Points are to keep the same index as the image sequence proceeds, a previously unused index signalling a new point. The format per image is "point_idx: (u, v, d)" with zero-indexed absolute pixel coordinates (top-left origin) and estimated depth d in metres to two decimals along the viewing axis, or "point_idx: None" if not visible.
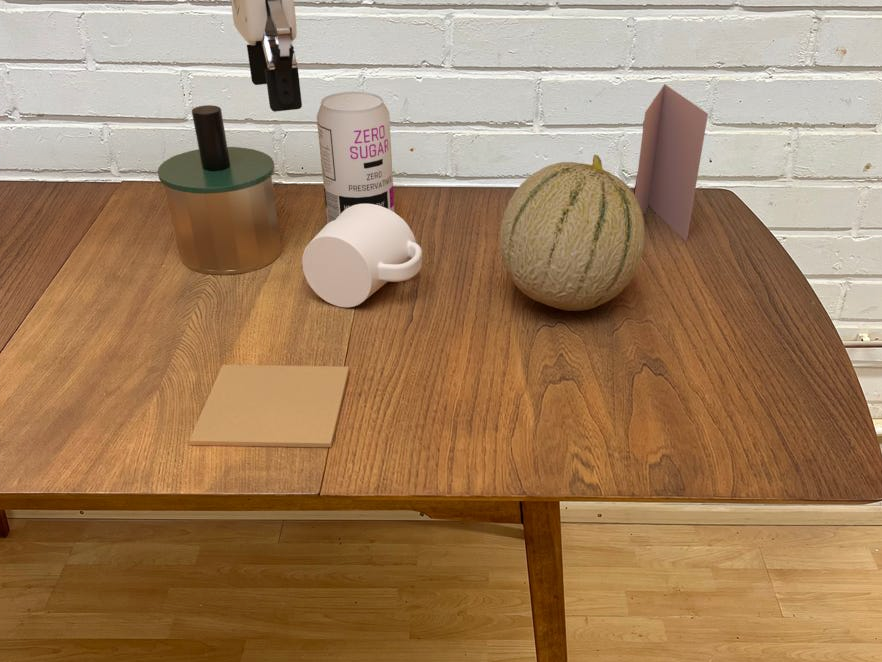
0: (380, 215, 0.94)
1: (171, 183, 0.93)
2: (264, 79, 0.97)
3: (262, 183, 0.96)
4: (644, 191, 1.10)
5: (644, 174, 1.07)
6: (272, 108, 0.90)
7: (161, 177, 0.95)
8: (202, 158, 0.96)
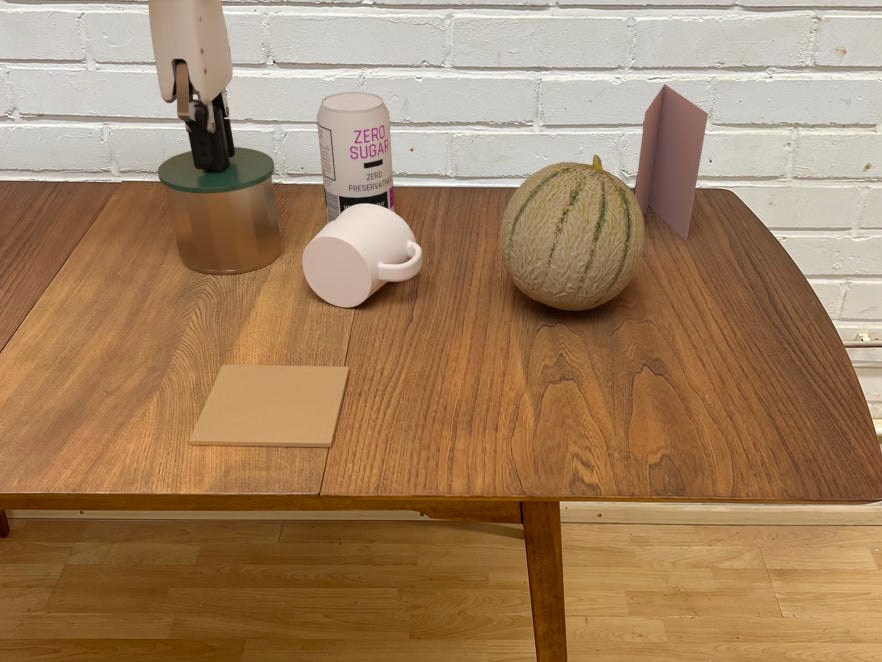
0: (380, 215, 0.94)
1: (171, 183, 0.93)
2: None
3: (262, 183, 0.96)
4: (644, 191, 1.10)
5: (644, 174, 1.07)
6: (195, 166, 0.95)
7: (161, 177, 0.95)
8: None
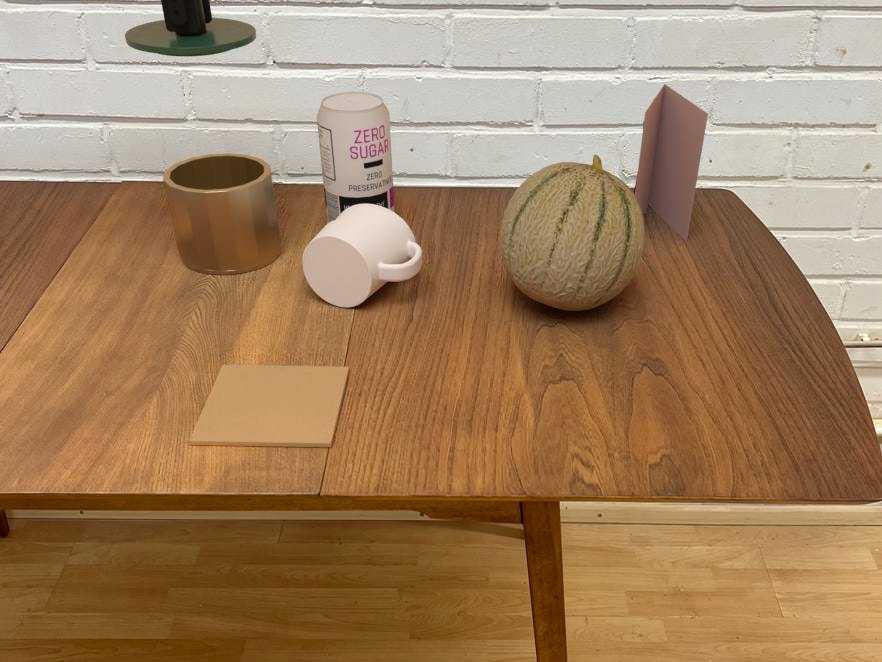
0: (380, 215, 0.94)
1: (139, 44, 0.83)
2: None
3: (262, 183, 0.96)
4: (644, 191, 1.10)
5: (644, 174, 1.07)
6: (167, 27, 0.85)
7: (128, 39, 0.84)
8: None
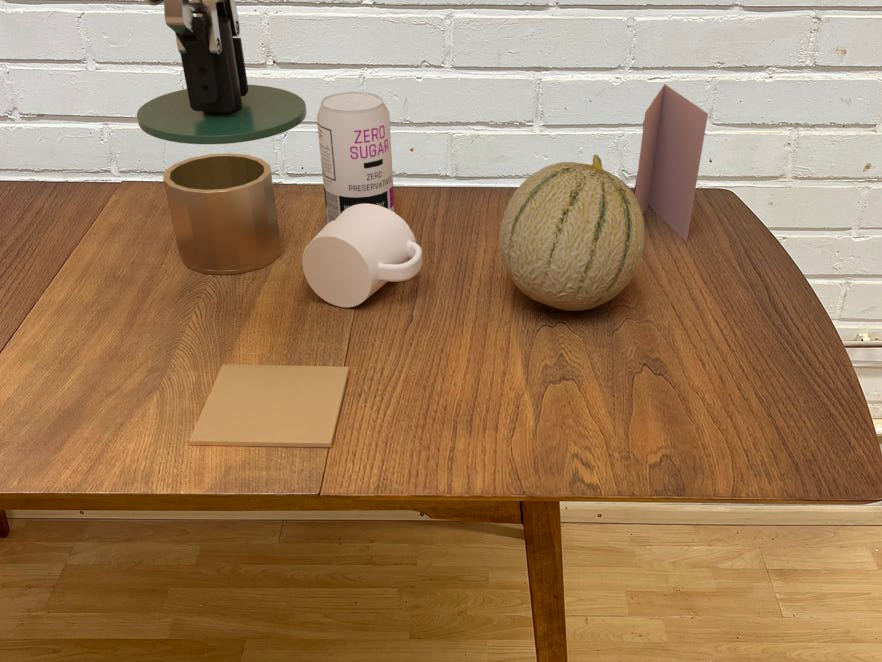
0: (380, 215, 0.94)
1: (157, 130, 0.63)
2: None
3: (262, 183, 0.96)
4: (644, 191, 1.10)
5: (644, 174, 1.07)
6: (192, 106, 0.65)
7: (142, 122, 0.64)
8: None
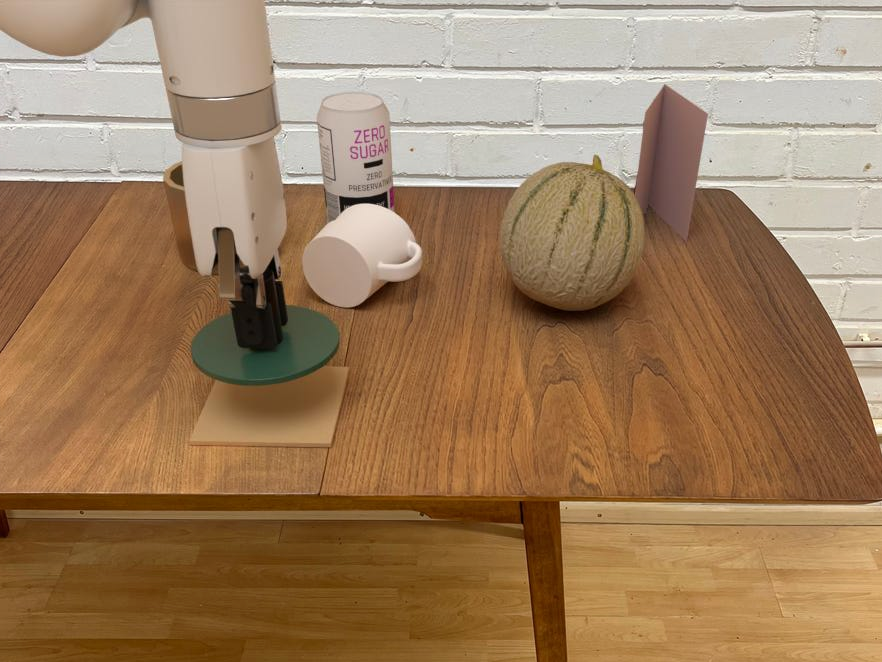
0: (380, 215, 0.94)
1: (209, 371, 0.72)
2: None
3: None
4: (644, 191, 1.10)
5: (644, 174, 1.07)
6: (239, 344, 0.73)
7: (196, 360, 0.73)
8: None
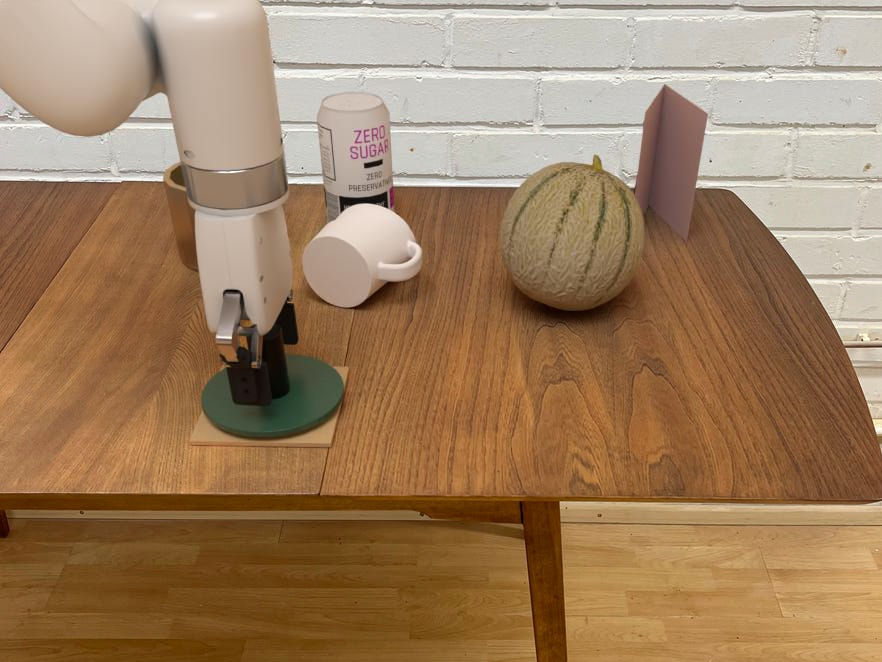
0: (380, 215, 0.94)
1: (219, 422, 0.75)
2: None
3: None
4: (644, 191, 1.10)
5: (644, 174, 1.07)
6: (234, 401, 0.73)
7: (206, 411, 0.76)
8: None
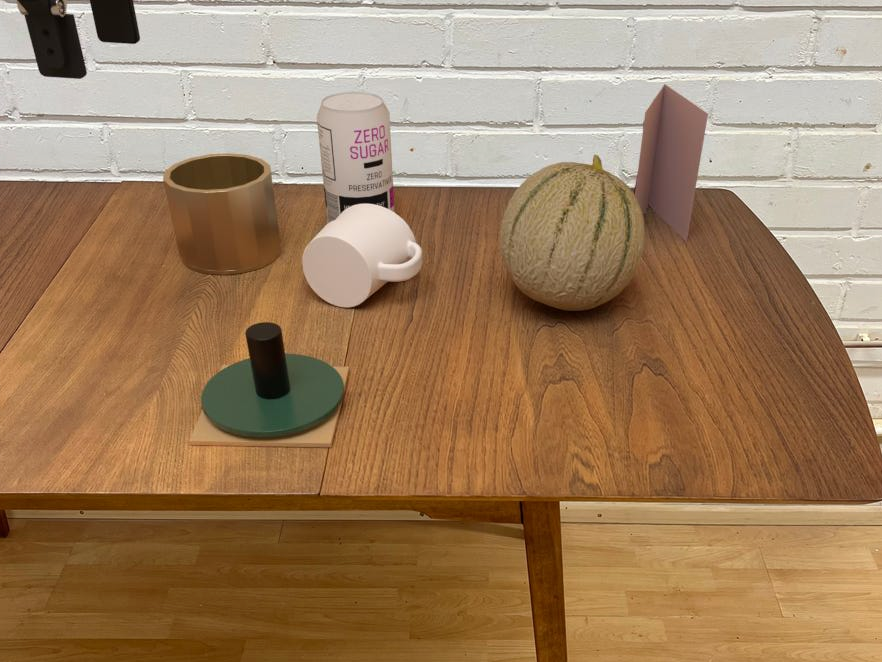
0: (380, 215, 0.94)
1: (219, 422, 0.75)
2: (112, 35, 0.69)
3: (262, 183, 0.96)
4: (644, 191, 1.10)
5: (644, 174, 1.07)
6: (40, 71, 0.62)
7: (206, 411, 0.76)
8: (257, 384, 0.77)
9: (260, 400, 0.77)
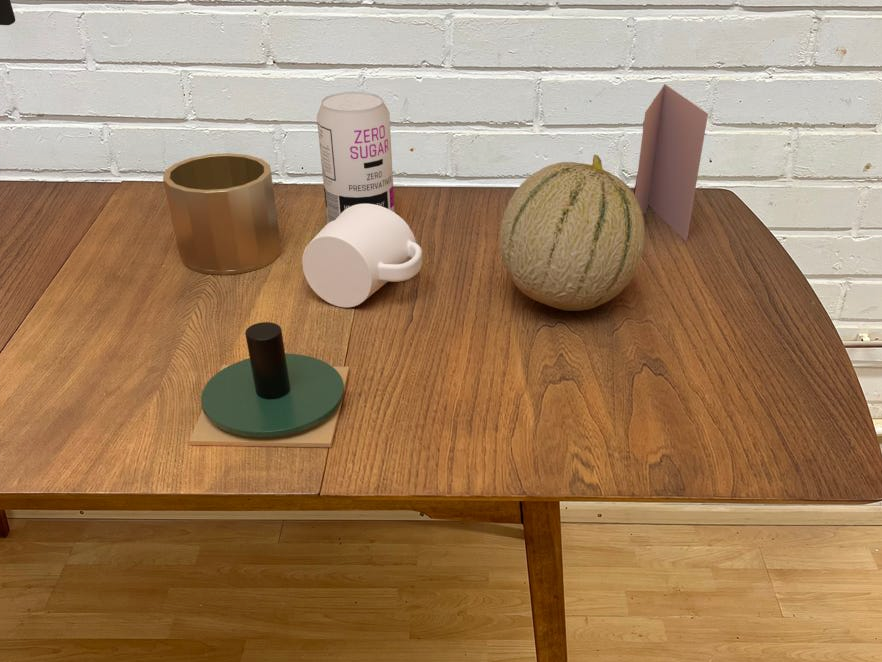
0: (380, 215, 0.94)
1: (219, 422, 0.75)
2: None
3: (262, 183, 0.96)
4: (644, 191, 1.10)
5: (644, 174, 1.07)
6: None
7: (206, 411, 0.76)
8: (257, 384, 0.77)
9: (260, 400, 0.77)
